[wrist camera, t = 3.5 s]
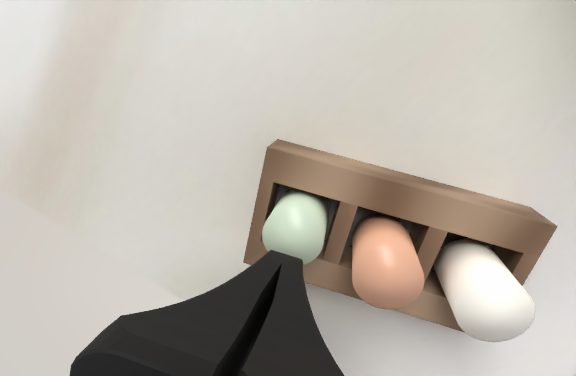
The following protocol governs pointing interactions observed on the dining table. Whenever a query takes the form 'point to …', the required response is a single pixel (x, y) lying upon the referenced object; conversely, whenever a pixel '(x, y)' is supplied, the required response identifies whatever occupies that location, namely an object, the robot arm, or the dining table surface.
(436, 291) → the wooden three-slot tray
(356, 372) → the dining table surface
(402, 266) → the salmon pink cylinder
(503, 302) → the white rounded cylinder
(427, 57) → the dining table surface
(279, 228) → the button sage
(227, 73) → the dining table surface
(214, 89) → the dining table surface
